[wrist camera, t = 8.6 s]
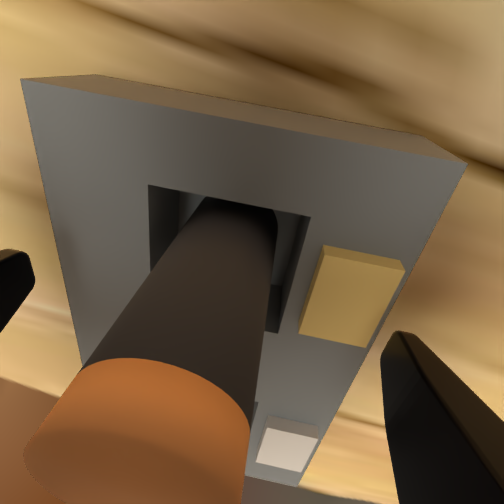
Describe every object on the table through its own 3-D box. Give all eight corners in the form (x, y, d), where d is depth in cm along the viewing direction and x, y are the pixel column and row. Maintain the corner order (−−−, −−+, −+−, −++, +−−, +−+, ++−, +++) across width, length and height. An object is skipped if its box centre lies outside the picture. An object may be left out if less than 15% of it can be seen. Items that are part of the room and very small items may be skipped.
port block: (422, 135, 9) (479, 170, 6) (297, 426, 18) (296, 499, 15) (95, 74, 9) (1, 79, 7) (127, 388, 18) (93, 452, 15)
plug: (285, 196, 10) (256, 464, 3) (269, 270, 12) (227, 552, 5) (196, 179, 10) (-6, 406, 3) (192, 254, 12) (48, 510, 5)
